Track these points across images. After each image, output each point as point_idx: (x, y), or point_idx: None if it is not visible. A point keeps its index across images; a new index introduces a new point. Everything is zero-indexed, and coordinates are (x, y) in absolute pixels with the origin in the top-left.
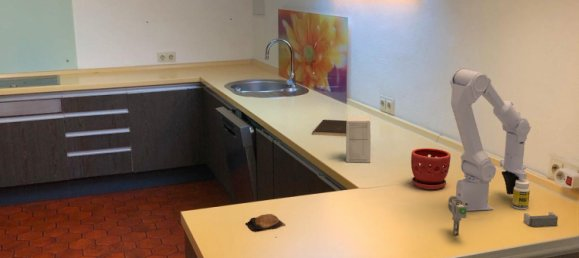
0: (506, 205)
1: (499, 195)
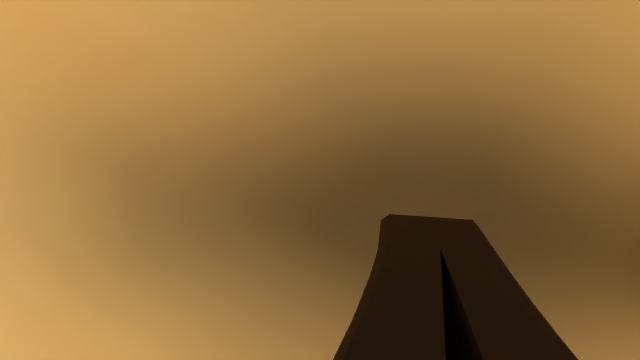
0: (629, 351)
1: (210, 259)
